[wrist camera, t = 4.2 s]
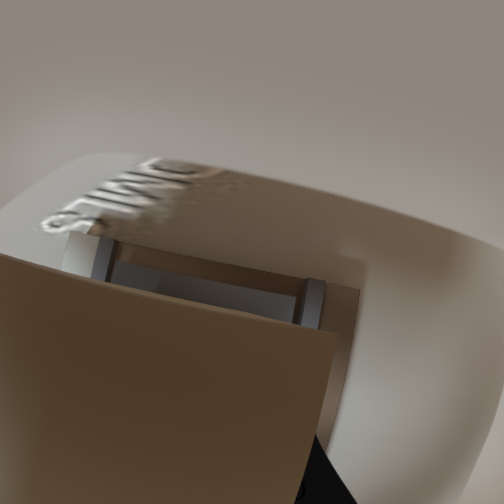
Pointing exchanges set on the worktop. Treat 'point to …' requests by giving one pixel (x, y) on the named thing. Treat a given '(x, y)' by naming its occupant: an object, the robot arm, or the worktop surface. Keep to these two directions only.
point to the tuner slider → (153, 389)
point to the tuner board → (305, 290)
